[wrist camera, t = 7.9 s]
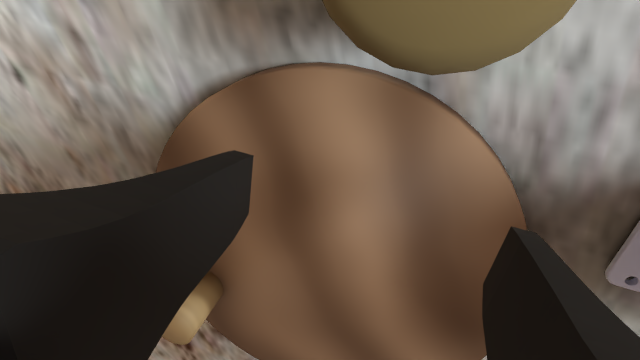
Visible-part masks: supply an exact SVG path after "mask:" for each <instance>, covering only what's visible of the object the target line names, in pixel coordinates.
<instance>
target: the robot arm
mask: <svg viewBox="0 0 640 360" xmlns="http://www.w3.org/2000/svg"><path fill="white" fill-rule="evenodd" d="M253 157H254V155H250V154H247V153H243V152H239V151H236V150H232V151H227V152H224V153H220V154H217V155H213V156H210V157H207V158H204V159H201V160H198V161H195V162H191V163H188V164H185V165H182V166H179V167H176V168H172V169H168V170H165V171H161V172H157V173H154V174H150V175H146V176H143V177H139V178H135V179H130V180H125V181H120V182H115V183H110V184H104V185H98V186H92V187H83V188H75V189H67V190H59V191H49V192H35V193H17V194H0V360H148V358H149V356H150V355H151V353H152V351H153V350H154V348H155V347H156V345H157V343H158V342H159V340H160V338H161V337H162V335H163V334H164V332H165V330H166V329H167V327H168V326H169V324H170V323H171V321H172V320H173V318H174V316H175V315H176V313H177V312H178V310H179V309H180V307H181V306H182V304H183V303H184V302H185V300H186V299H187V298H188V296H189V295H190V294H191V292H192V291H193V290H194V289H195V287H196V286H197V285H198V284H199V282H200V281H201V280H202V279H203V278H204V276H205V275H206V274H207V273H208V271H209V270H210V269H211V268H212V266H213V265H214V264H215V263H216V261H217V260H218V259H219V258H220V256H221V255H222V254H223V253H224V251H225V250H226V249H227V248H228V246H229V245H230V244H231V242H232V241H233V240H234V238H235V237H236V235H237V233H238V232H239V230H240V228H241V227H242V225H243V223H244V221H245V220H246V218H247V216H248V214H249V206H250V194H251V182H252V169H253ZM605 276H606V278H607V280H608V281H609V282H610V283H611V284H613V285H616V286H620V287H623V288H626V289H630V290H633V291H637V292H640V221H639V222H638V224H637V225H636V227H635V228H634V230H633V231H632V232H631V234H630V235H629V237H628V238H627V240H626V241H625V243H624V244H623V246H622V247H621V248H620V250H619V251H618V253H617V254H616V256H615V257H614V259H613V260H612V262H611V263H610V264H609V266H608V267H607V269H606V271H605ZM631 276H633V277H634V278H633V279H631V280H625V279H626V278H628V277H631ZM482 320H483V329H484V337H485V345H486V353H487V360H640V337H639V336H638V335H636V334H635V333H634V332H633V331H632V330H631V329H630V328H629V327H628V326H626V325H625V324H624V323H623V322H622V321H621V320H620V319H619V318H618V317H617V316H616V315H615V314H614V313H613V312H612V311H611V310H610V309H609V308H608V307H607V306H606V305H605V304H604V303H603V302H602V301H601V300H600V299H599V298H598V297H597V296H596V295H595V294H594V293H593V292H592V291H591V290H590V289H589V288H588V287H587V286H586V285H585V284H584V283H583V282H582V281H581V280H580V279H579V278H578V277H577V276H576V274H575V273H574V272H573V271H572V270H571V269H570V268H569V267H568V266H567V265H566V264H565V263H564V261H563V260H562V259H561V258H560V257H559V256H558V255H557V254H556V253H555V252H554V251H553V250H552V248H551V247H550V246H549V245H548V244H547V243H546V242H545V241H544V240H543V239H542V238H541V237H540V236H539V235H537V234H536V233H534V232H531V231H527V230H523V229H520V228H516V227H512V226H511V227H510V229H509V231H508V234H507V236H506V238H505V240H504V242H503V244H502V246H501V248H500V250H499V252H498V254H497V256H496V258H495V260H494V262H493V264H492V266H491V268H490V271H489V273H488V275H487V277H486V279H485V281H484V283H483V298H482Z"/></svg>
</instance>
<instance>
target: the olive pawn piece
mask: <svg viewBox="0 0 640 360" xmlns="http://www.w3.org/2000/svg"><path fill="white" fill-rule="evenodd" d="M322 1H323V3H324V5H325V7H326V9H327V12H328V14H329V16H330V17H331V18H332V19H333V21H334V22H335V23H336V24H337V25H338V26H339V27H340V28H341V29H342V31H343V32H344V33H345V34H346V35H347V36H348V37H349V38H350V39H351V41H352V42H353V43H354V44H355V45H356V46H357V47H358V48H360V49H362V50H363V51H365V52H367V53H369V54H370V55H372V56H374V57H376V58H377V59H379V60H381V61H383V62H384V63H386V64H388V65H390V66H391V67H394V68H399V69H404V70H409V71H414V72H419V73H424V74H429V75H439V74H448V73H457V72H466V71H475V70H478V69H480V68H482V67H485V66H487V65H490V64H492V63H494V62H497V61H499V60H502V59H504V58H506V57H509V56H511V55H514V54H516V53H518V52H520V51H521V50H523V49H524V48H525V47H527V46H528V45H529V44H530V43H532V42H533V41H534V40H536V39H537V38H538V37H539V36H541V35H542V34H543V33H545V32H546V31H547V30H548V29H550V28H551V27H552V26H554V25H555V24H556V23H557V22H559V21H560V20H561V19H563V17H564V16H565V15H566V13H567V12H568V11H569V9H570V8H571V7H572V6H573V4H574V3H575V2H576V0H322Z"/></svg>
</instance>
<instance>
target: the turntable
mask: <svg viewBox="0 0 640 360" xmlns="http://www.w3.org/2000/svg"><path fill="white" fill-rule="evenodd" d="M232 150H236V151H239V152H243V153H247V154H250V155H254V157H253V169H252V182H251V194H250V206H249V214H248V216H247V218H246V220H245V221H244V223H243V225H242V227H241V228H240V230H239V232H238V233H237V235H236V237H235V238H234V240H233V241H232V242H231V244H230V245H229V246H228V248H227V249H226V250H225V251H224V253H223V254H222V255H221V256H220V258H219V259H218V260H217V261H216V263H215V264H214V265H213V266H212V268H211V269H210V270H209V271H208V273H207V274H206V275H205V276H204V278H203V279H202V280H201V281H200V282H199V284H198V285H197V286H196V287H195V289H194V290H193V291H192V292H191V294H190V295H189V296H188V298H187V299H186V300H185V302H184V303H183V304H182V306H181V307H180V309H179V310H178V312H177V313H176V315H175V316H174V318H173V320H172V321H171V323H170V324H169V326H168V327H167V329H166V330H165V332H164V334H163V335H162V337H163V338H165V339H166V340H168V341H170V342H172V343H175V344H179V345H184V344H188V343H189V342H190V341H191V340H192V338H193V337H194V336H195V334H196V333H197V331H198V330H199V328H200V327H201V325H202V324H203V322H204V321H205V319H206V320H207V321H208V322H209V323H210V324H211V325H212V326H213V327H215V328H216V329H217V330H218V331H219V332H220V333H221V334H222V335H224V336H225V337H226V338H227V339H229V340H230V341H231V342H233V343H234V344H235V345H236V346H238V347H239V348H241V349H242V350H244V351H245V352H247V353H249V354H250V355H252V356H253V357H255V358H257V359H259V360H481V359H483V358H484V357H485V356H486V355H487V353H486V345H485V337H484V329H483V320H482V298H483V283H484V281H485V279H486V277H487V275H488V273H489V271H490V268H491V266H492V264H493V262H494V260H495V258H496V256H497V254H498V252H499V250H500V248H501V246H502V244H503V242H504V240H505V238H506V236H507V234H508V231H509V229H510V227H511V226H512V227H516V228H520V229H523V230H527V227H526V222H525V218H524V215H523V212H522V208H521V205H520V202H519V199H518V197H517V194H516V191H515V189H514V186H513V184H512V181H511V179H510V177H509V175H508V173H507V172H506V170H505V168H504V167H503V165H502V163H501V161H500V160H499V158H498V156H497V155H496V153H495V152H494V151H493V150H492V148H491V147H490V146H489V145H488V143H487V142H486V141H485V140H484V138H483V137H482V136H481V135H480V133H479V132H477V131H476V130H475V129H474V128H473V127H472V126H471V125H470V124H469V123H468V122H467V121H466V120H465V119H464V118H463V117H462V116H460V115H459V114H458V113H457V112H456V111H454V110H453V109H451V108H450V107H449V106H447V105H446V104H444V103H443V102H442V101H440V100H439V99H437V98H436V97H434V96H433V95H431V94H429V93H427V92H425V91H423V90H422V89H420V88H418V87H416V86H414V85H412V84H410V83H408V82H406V81H403V80H401V79H398V78H395V77H393V76H390V75H387V74H384V73H382V72H379V71H375V70H370V69H366V68H361V67H357V66H352V65H346V64H334V63H322V62H318V63H300V64H290V65H285V66H280V67H275V68H270V69H266V70H263V71H261V72H258V73H255V74H252V75H250V76H247V77H244V78H242V79H241V80H239V81H237V82H235V83H233V84H231V85H230V86H228V87H226V88H224V89H222V90H221V91H219V92H217V93H215V94H213V95H212V96H210V97H208V98H207V99H206V100H204V101H203V102H202V103H201V104H199V105H198V106H197V107H196V108H194V109H193V110H192V111H191V112H190V113H189V114H188V115H187V116H186V117H185V118H184V120H183V121H182V122H181V123H180V124H179V125H178V126H177V127H176V129H175V131H174V132H173V134H172V135H171V137H170V139H169V140H168V142H167V143H166V145H165V148H164V150H163V152H162V155H161V157H160V160H159V162H158V166H157V170H156V173H157V172H161V171H165V170H168V169H172V168H176V167H179V166H182V165H185V164H188V163H191V162H195V161H198V160H201V159H204V158H207V157H210V156H213V155H217V154H220V153H224V152H227V151H232Z"/></svg>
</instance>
